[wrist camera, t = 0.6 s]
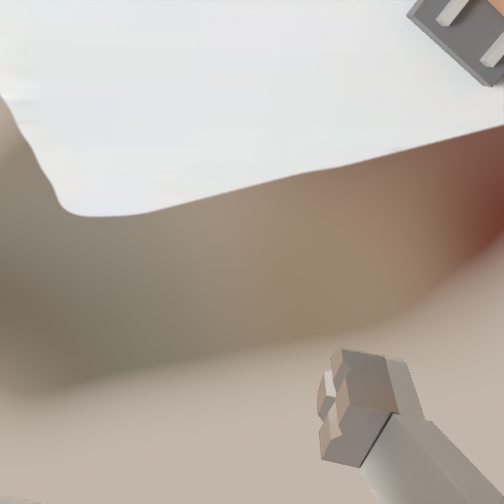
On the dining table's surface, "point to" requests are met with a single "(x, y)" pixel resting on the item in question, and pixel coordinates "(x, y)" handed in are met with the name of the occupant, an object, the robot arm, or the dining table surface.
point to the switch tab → (498, 5)
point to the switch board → (465, 34)
